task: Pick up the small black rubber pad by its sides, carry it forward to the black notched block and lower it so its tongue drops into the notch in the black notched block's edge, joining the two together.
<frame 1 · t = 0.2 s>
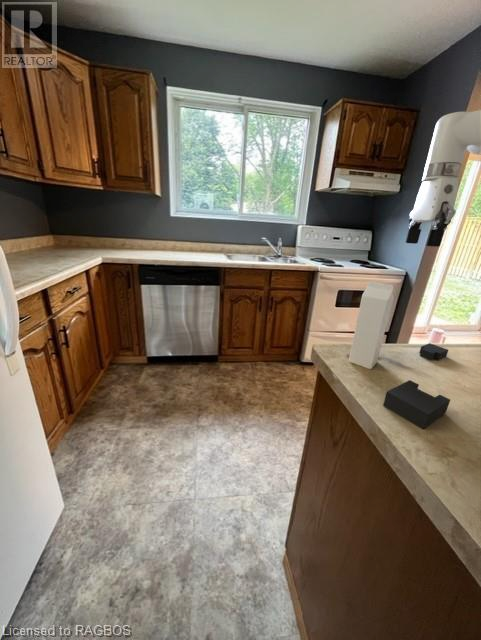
hand: (421, 244, 74), 31 cm above the countertop, tool pointing down, fingers open, 9 cm apart
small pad: (431, 358, 78), on the countertop
milk: (362, 362, 75), on the countertop
black notched block: (413, 409, 56), on the countertop
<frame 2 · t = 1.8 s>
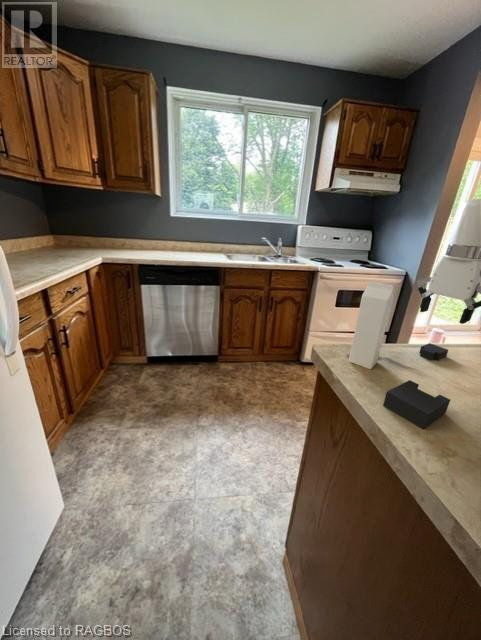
hand: (442, 316, 74), 13 cm above the countertop, tool pointing down, fingers open, 9 cm apart
nothing on the countertop moved.
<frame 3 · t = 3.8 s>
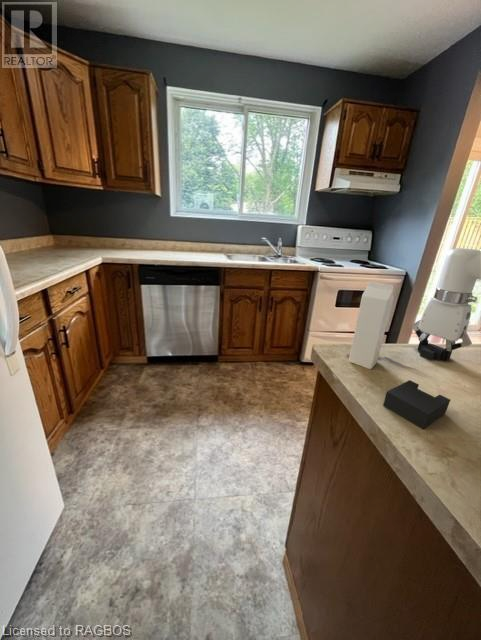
hand: (431, 356, 78), 1 cm above the countertop, tool pointing down, fingers closed on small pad, 5 cm apart
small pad: (431, 358, 78), on the countertop, touching gripper
everything else where it was.
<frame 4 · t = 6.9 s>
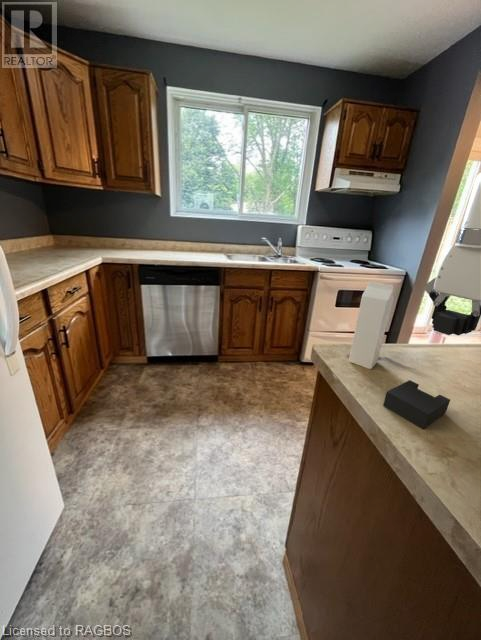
hand: (451, 326, 58), 16 cm above the countertop, tool pointing down, fingers closed on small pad, 5 cm apart
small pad: (450, 329, 58), point 15 cm above the countertop, touching gripper
everything else where it was.
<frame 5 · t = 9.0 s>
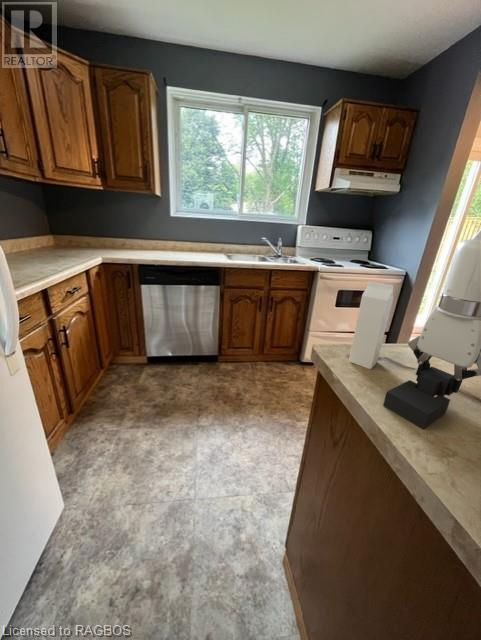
hand: (434, 385, 58), 3 cm above the countertop, tool pointing down, fingers closed on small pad, 5 cm apart
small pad: (434, 388, 59), point 3 cm above the countertop, touching gripper
everything else where it was.
when the fingers open (1 cm above the countertop, at t = 10.3 s): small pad stays where it is, on the countertop.
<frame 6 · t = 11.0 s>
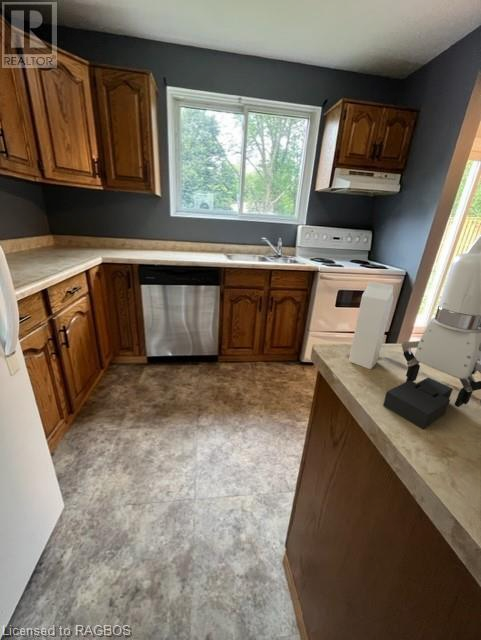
hand: (433, 392, 59), 2 cm above the countertop, tool pointing down, fingers open, 9 cm apart
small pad: (430, 399, 60), on the countertop
everything else where it was.
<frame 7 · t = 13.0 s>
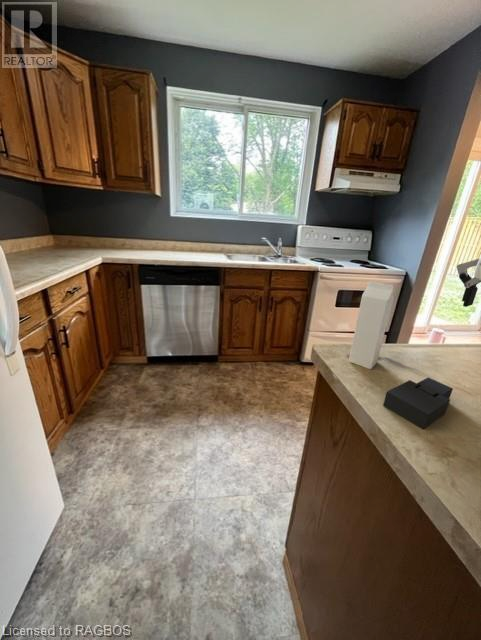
nothing on the countertop moved.
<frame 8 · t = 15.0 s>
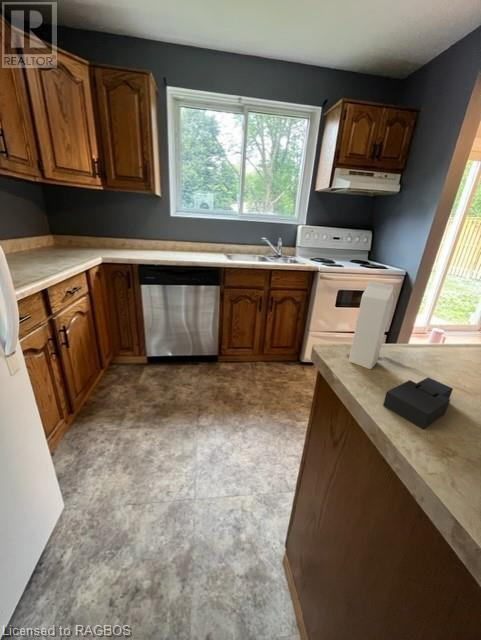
nothing on the countertop moved.
at the end: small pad 0.5 cm from the target spot on the countertop beside the black notched block, on the countertop; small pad tilted 0°; the gripper is holding nothing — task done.
